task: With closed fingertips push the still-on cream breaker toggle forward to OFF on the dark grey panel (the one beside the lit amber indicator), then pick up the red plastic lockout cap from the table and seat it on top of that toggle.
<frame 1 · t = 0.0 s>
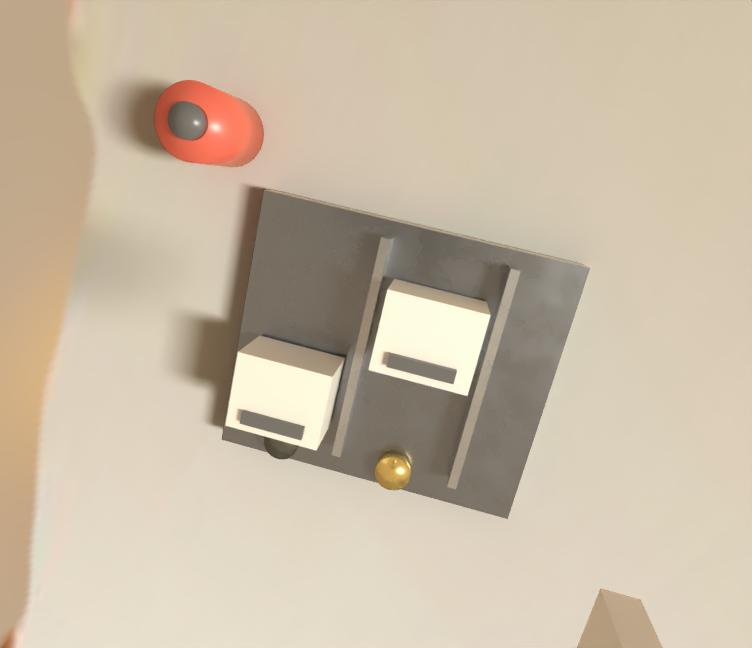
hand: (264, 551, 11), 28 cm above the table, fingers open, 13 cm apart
breaker 2: (429, 335, 34), point 5 cm above the table, slide at 0.0 cm
panel: (393, 352, 39), on the table
lockout cap: (231, 132, 37), on the table
breaker 1: (286, 391, 36), point 4 cm above the table, slide at 6.0 cm
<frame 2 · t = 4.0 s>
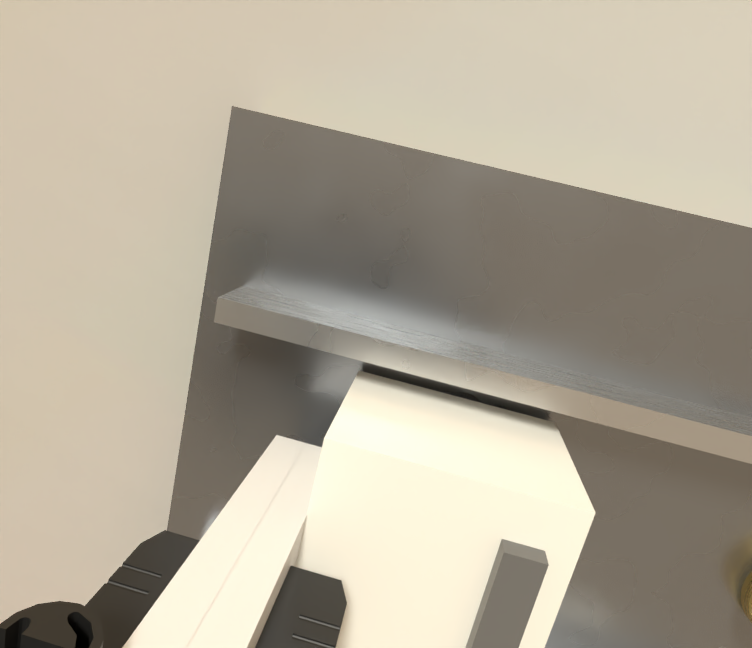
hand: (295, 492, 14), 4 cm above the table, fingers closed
breaker 2: (421, 552, 13), point 5 cm above the table, slide at 0.9 cm, touching gripper
panel: (478, 534, 17), on the table
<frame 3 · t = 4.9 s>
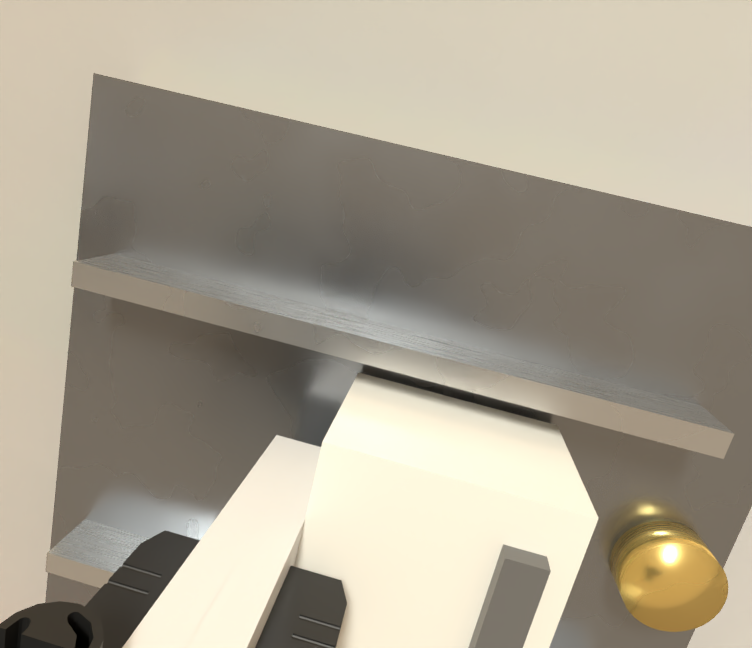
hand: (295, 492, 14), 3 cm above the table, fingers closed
breaker 2: (421, 556, 12), point 5 cm above the table, slide at 4.4 cm, touching gripper
panel: (370, 506, 17), on the table
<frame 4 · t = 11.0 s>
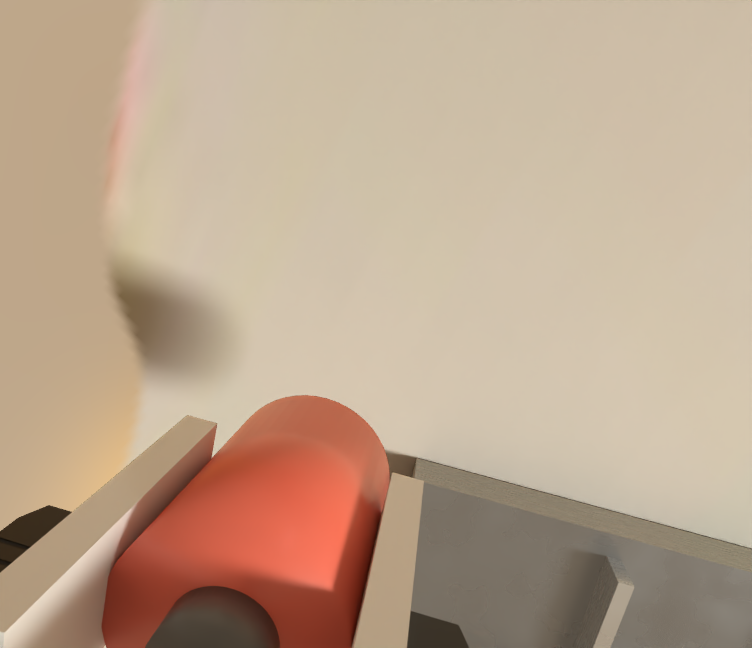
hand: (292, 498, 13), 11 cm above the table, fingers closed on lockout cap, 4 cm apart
lockout cap: (309, 472, 15), point 9 cm above the table, touching gripper
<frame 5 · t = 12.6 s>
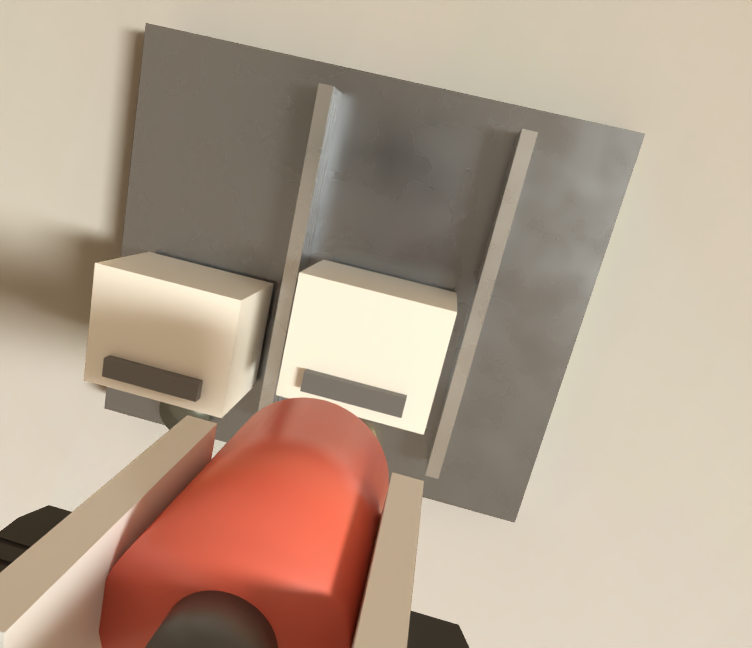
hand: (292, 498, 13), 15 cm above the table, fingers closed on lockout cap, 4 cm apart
breaker 2: (369, 342, 23), point 5 cm above the table, slide at 4.4 cm
panel: (349, 280, 27), on the table
lockout cap: (308, 474, 15), point 13 cm above the table, touching gripper
breaker 1: (180, 330, 24), point 5 cm above the table, slide at 6.0 cm
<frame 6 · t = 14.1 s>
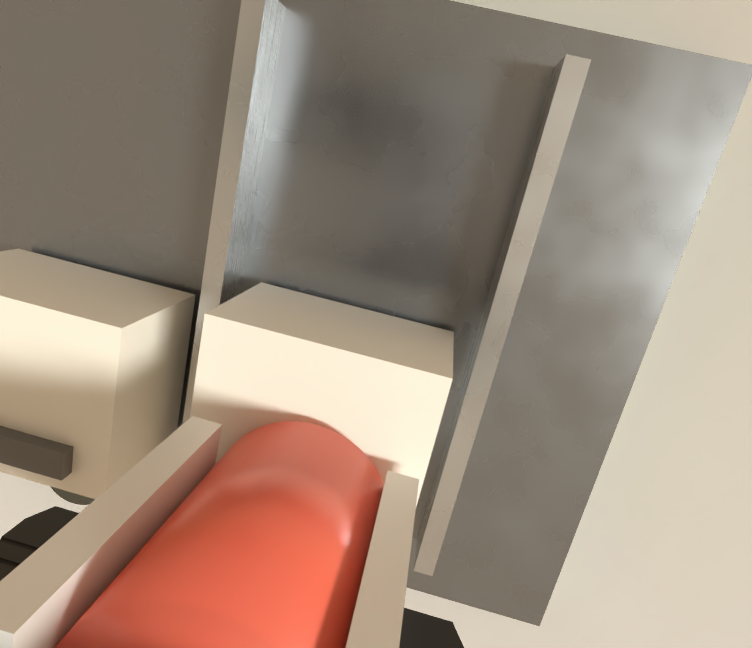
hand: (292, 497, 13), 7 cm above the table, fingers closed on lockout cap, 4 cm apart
breaker 2: (323, 410, 15), point 5 cm above the table, slide at 5.1 cm, touching gripper, lockout cap
panel: (309, 288, 19), on the table
lockout cap: (299, 504, 14), point 7 cm above the table, touching breaker 2, gripper
breaker 1: (53, 366, 16), point 4 cm above the table, slide at 6.0 cm
when the fingers open (7 cm above the table, at t = 14.5 s): lockout cap stays where it is, resting on breaker 2.
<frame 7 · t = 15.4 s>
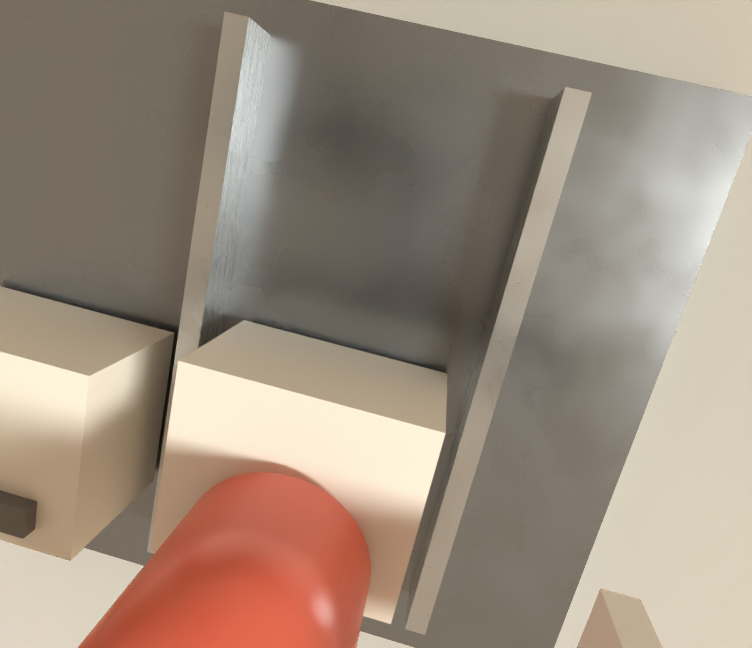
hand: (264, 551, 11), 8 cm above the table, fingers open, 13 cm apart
breaker 2: (307, 459, 14), point 5 cm above the table, slide at 5.1 cm, touching lockout cap
panel: (296, 324, 18), on the table
lockout cap: (274, 560, 13), point 7 cm above the table, touching breaker 2
breaker 1: (19, 411, 15), point 4 cm above the table, slide at 6.0 cm
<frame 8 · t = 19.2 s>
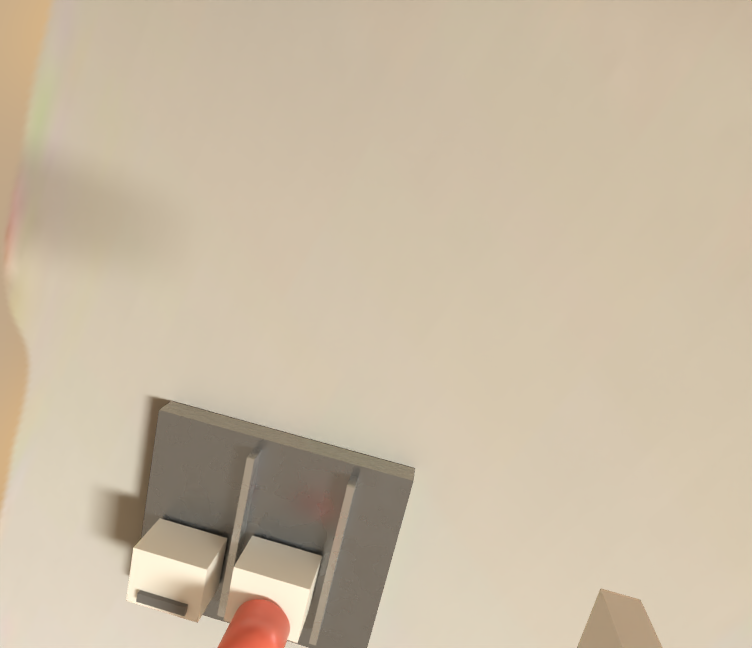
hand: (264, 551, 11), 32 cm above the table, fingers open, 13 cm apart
breaker 2: (273, 589, 44), point 4 cm above the table, slide at 5.1 cm, touching lockout cap
panel: (271, 527, 48), on the table
lockout cap: (262, 624, 43), point 7 cm above the table, touching breaker 2
breaker 1: (176, 570, 45), point 4 cm above the table, slide at 6.0 cm
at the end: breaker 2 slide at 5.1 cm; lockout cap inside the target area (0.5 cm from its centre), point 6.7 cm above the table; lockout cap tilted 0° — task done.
